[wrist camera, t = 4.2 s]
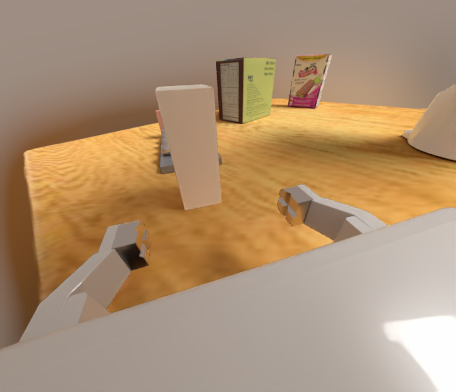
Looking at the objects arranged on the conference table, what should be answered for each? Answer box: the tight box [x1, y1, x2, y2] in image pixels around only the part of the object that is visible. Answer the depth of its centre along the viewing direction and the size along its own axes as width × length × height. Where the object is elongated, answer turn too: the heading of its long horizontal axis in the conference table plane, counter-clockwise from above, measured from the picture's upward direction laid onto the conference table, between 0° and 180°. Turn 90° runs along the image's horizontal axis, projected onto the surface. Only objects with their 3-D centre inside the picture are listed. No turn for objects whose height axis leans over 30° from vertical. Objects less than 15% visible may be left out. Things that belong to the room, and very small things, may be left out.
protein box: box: [216, 58, 276, 124], centre depth 53 cm, size 10×15×16 cm
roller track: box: [156, 110, 222, 174], centre depth 34 cm, size 10×20×6 cm, turn 17°
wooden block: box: [155, 85, 222, 211], centre depth 18 cm, size 4×4×12 cm
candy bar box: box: [288, 54, 332, 108], centre depth 64 cm, size 11×5×16 cm, turn 55°
